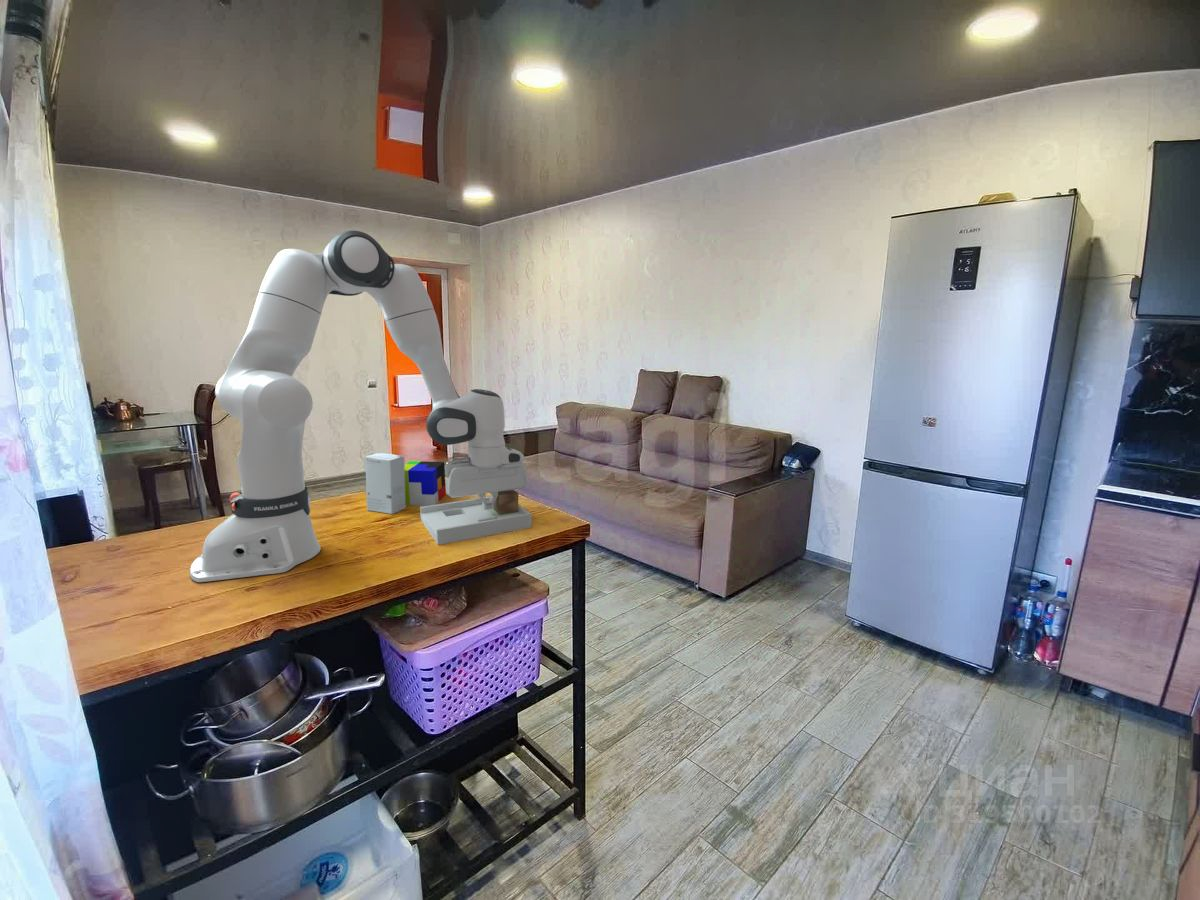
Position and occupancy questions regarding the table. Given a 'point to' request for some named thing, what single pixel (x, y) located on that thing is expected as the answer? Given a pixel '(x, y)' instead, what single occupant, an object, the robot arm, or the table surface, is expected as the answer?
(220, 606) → the table surface
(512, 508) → the walnut block
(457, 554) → the table surface
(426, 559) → the table surface
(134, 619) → the table surface
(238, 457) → the robot arm
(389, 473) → the skincare box
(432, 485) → the puzzle toy
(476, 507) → the platform
